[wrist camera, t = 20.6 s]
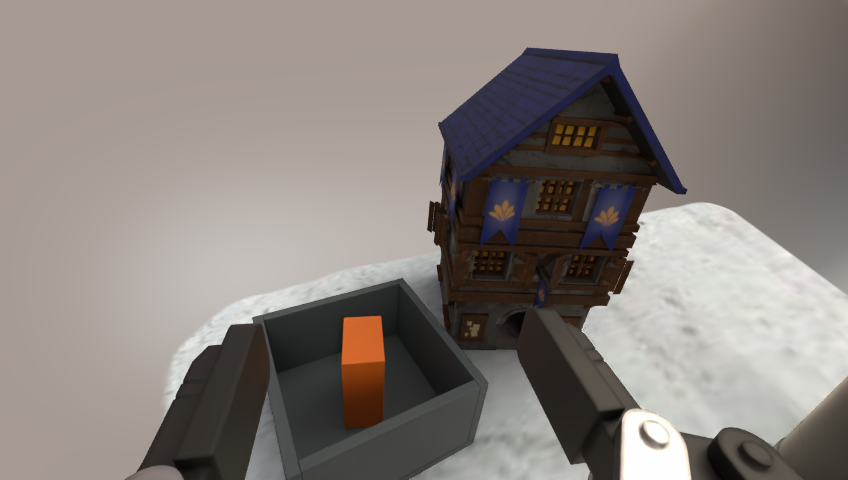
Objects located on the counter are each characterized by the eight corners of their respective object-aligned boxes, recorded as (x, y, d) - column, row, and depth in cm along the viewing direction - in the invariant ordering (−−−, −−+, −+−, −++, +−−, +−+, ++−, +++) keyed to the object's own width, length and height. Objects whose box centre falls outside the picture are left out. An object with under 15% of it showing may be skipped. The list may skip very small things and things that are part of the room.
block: (379, 377, 34) (381, 315, 30) (382, 425, 30) (385, 360, 26) (346, 379, 34) (343, 317, 30) (344, 429, 30) (341, 364, 26)
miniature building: (426, 382, 35) (470, 39, 20) (419, 264, 54) (439, 39, 39) (607, 384, 37) (768, 68, 22) (539, 269, 55) (603, 54, 40)
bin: (399, 331, 41) (402, 277, 37) (473, 442, 30) (489, 382, 26) (265, 377, 34) (252, 317, 30) (299, 541, 24) (286, 480, 20)
